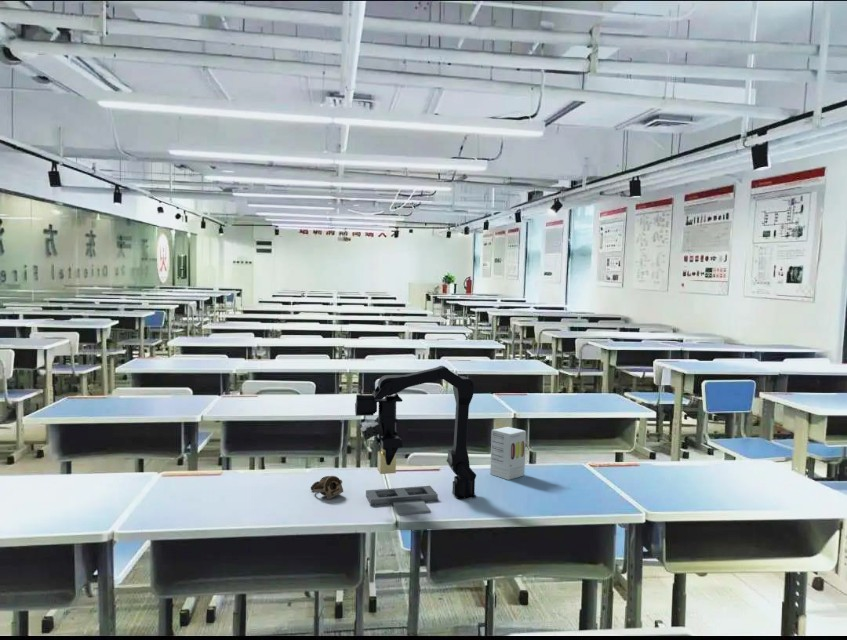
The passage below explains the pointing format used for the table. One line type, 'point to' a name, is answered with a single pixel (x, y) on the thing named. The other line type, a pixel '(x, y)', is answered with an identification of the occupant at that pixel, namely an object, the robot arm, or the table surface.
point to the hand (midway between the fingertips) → (386, 462)
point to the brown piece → (328, 486)
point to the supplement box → (508, 452)
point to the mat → (411, 507)
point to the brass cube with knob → (382, 465)
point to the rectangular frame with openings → (400, 495)
